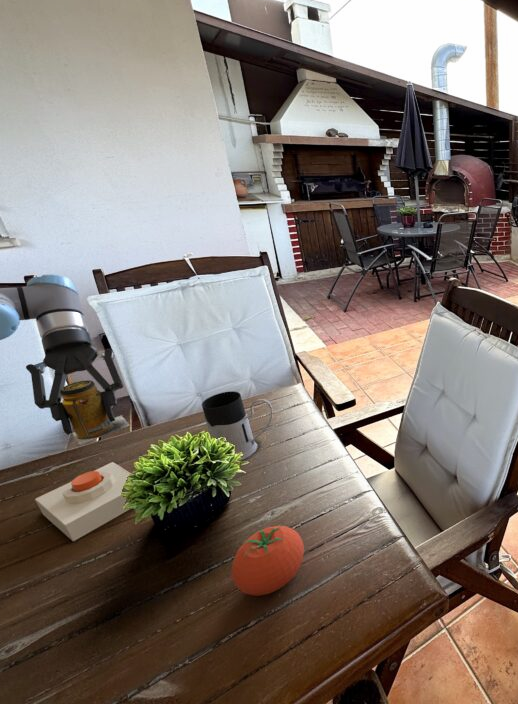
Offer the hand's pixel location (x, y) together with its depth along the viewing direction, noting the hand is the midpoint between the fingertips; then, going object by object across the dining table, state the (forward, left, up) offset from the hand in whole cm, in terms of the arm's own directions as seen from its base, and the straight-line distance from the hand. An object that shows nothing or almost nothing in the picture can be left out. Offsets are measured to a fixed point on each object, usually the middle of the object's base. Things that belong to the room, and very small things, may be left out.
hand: (90, 425), depth 87 cm
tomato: (+47, -34, -13) cm, 59 cm away
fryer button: (+5, -11, -7) cm, 14 cm away
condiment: (-1, +4, -4) cm, 5 cm away
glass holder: (+28, +3, -13) cm, 31 cm away
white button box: (+5, -11, -13) cm, 18 cm away
